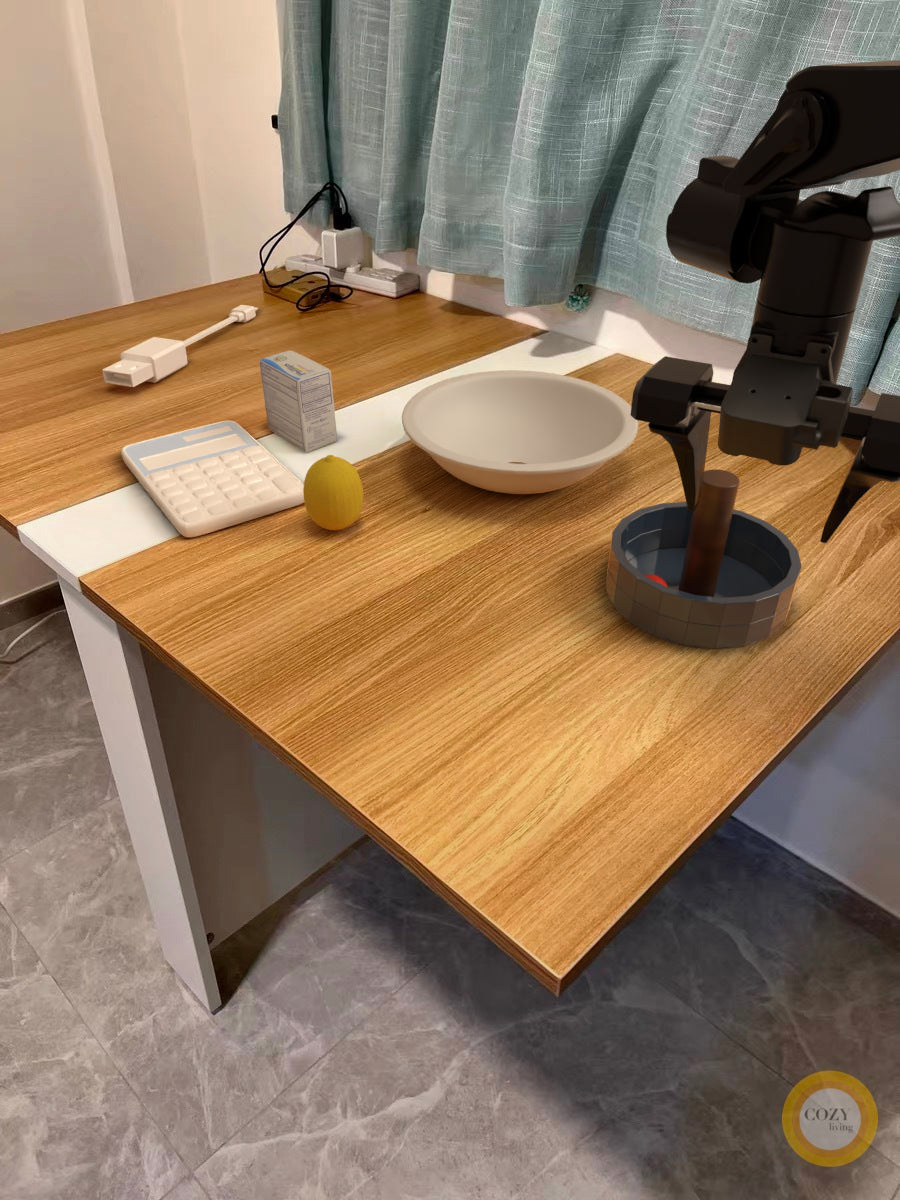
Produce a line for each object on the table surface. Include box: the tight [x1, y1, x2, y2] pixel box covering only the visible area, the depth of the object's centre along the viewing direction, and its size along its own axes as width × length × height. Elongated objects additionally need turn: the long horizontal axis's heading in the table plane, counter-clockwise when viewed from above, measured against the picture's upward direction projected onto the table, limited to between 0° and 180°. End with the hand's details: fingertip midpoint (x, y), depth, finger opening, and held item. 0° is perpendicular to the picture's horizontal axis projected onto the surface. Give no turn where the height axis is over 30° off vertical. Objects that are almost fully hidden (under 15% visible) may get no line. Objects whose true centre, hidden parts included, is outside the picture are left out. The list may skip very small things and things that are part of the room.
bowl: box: [605, 501, 803, 650], centre depth 75 cm, size 15×15×5 cm
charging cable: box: [101, 304, 259, 388], centre depth 122 cm, size 5×32×3 cm, turn 160°
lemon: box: [303, 454, 365, 532], centre depth 82 cm, size 6×6×8 cm
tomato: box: [644, 574, 668, 587], centre depth 73 cm, size 3×3×3 cm
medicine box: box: [259, 349, 338, 453], centre depth 98 cm, size 8×4×9 cm, turn 41°
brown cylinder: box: [679, 468, 740, 597], centre depth 73 cm, size 3×3×11 cm
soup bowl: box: [401, 369, 639, 495], centre depth 92 cm, size 24×24×7 cm
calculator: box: [120, 419, 305, 538], centre depth 92 cm, size 13×20×2 cm, turn 34°
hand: (756, 524), depth 63 cm, fingers open, 9 cm apart
